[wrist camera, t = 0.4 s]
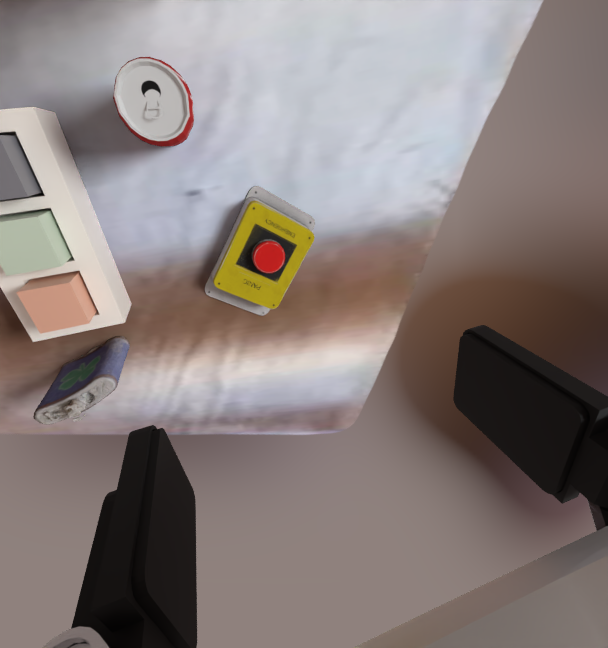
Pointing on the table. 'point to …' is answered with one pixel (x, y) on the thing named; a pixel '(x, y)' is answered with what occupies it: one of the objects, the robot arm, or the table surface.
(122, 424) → the table surface
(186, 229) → the table surface
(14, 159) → the charcoal key
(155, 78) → the soda can
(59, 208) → the key block
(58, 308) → the terracotta key
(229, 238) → the emergency button
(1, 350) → the table surface
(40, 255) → the sage key
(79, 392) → the flask
